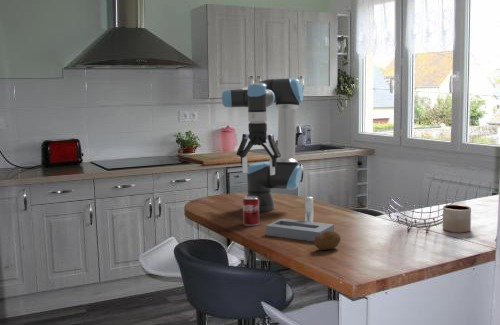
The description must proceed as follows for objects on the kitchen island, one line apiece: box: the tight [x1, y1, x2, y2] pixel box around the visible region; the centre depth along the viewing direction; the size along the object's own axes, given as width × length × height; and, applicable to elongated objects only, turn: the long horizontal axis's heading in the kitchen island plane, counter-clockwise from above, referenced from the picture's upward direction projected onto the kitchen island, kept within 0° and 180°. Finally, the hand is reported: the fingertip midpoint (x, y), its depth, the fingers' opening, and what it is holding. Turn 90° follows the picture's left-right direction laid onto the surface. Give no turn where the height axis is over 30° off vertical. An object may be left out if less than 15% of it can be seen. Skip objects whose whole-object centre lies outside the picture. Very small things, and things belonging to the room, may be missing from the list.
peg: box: [304, 196, 314, 222], centre depth 234 cm, size 4×4×13 cm
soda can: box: [242, 196, 261, 227], centre depth 242 cm, size 7×7×12 cm
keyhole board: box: [265, 218, 335, 243], centre depth 223 cm, size 24×14×4 cm, turn 58°
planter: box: [442, 204, 472, 234], centre depth 225 cm, size 11×11×10 cm
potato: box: [313, 230, 341, 251], centre depth 202 cm, size 7×12×7 cm, turn 127°
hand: (258, 173), depth 226 cm, fingers open, 13 cm apart
